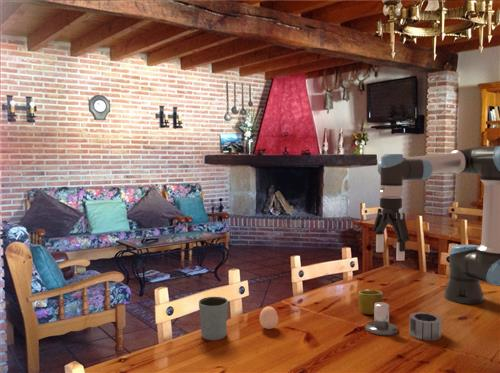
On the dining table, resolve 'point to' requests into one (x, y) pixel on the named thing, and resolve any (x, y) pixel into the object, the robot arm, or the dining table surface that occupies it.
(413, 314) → the ring
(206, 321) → the grey cup
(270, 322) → the egg
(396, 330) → the piston post
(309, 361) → the dining table surface
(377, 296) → the mug
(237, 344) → the dining table surface
